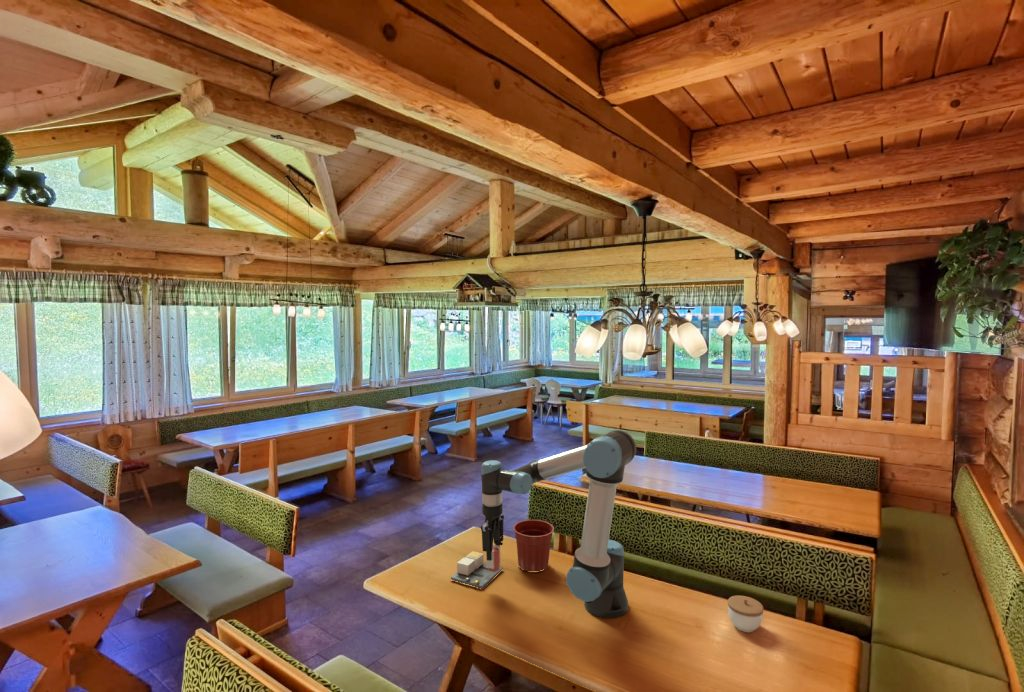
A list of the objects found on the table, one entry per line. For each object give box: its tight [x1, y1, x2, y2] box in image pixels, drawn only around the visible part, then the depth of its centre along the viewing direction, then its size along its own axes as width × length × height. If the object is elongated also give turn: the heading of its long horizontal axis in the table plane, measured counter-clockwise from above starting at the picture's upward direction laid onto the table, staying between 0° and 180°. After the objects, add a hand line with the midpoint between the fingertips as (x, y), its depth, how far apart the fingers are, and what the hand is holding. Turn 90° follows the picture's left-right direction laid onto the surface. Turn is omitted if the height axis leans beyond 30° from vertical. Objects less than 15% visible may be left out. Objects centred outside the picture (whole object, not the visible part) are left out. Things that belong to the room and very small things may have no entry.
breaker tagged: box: [465, 550, 484, 569], centre depth 208 cm, size 5×5×4 cm
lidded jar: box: [727, 595, 765, 633], centre depth 170 cm, size 11×11×9 cm
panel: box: [450, 561, 504, 589], centre depth 203 cm, size 14×16×2 cm
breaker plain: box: [456, 556, 475, 575], centre depth 203 cm, size 5×5×4 cm
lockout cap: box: [488, 548, 501, 572], centre depth 193 cm, size 4×4×7 cm
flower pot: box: [512, 519, 555, 572], centre depth 211 cm, size 16×16×16 cm
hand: (493, 564), depth 193 cm, fingers closed on lockout cap, 4 cm apart
